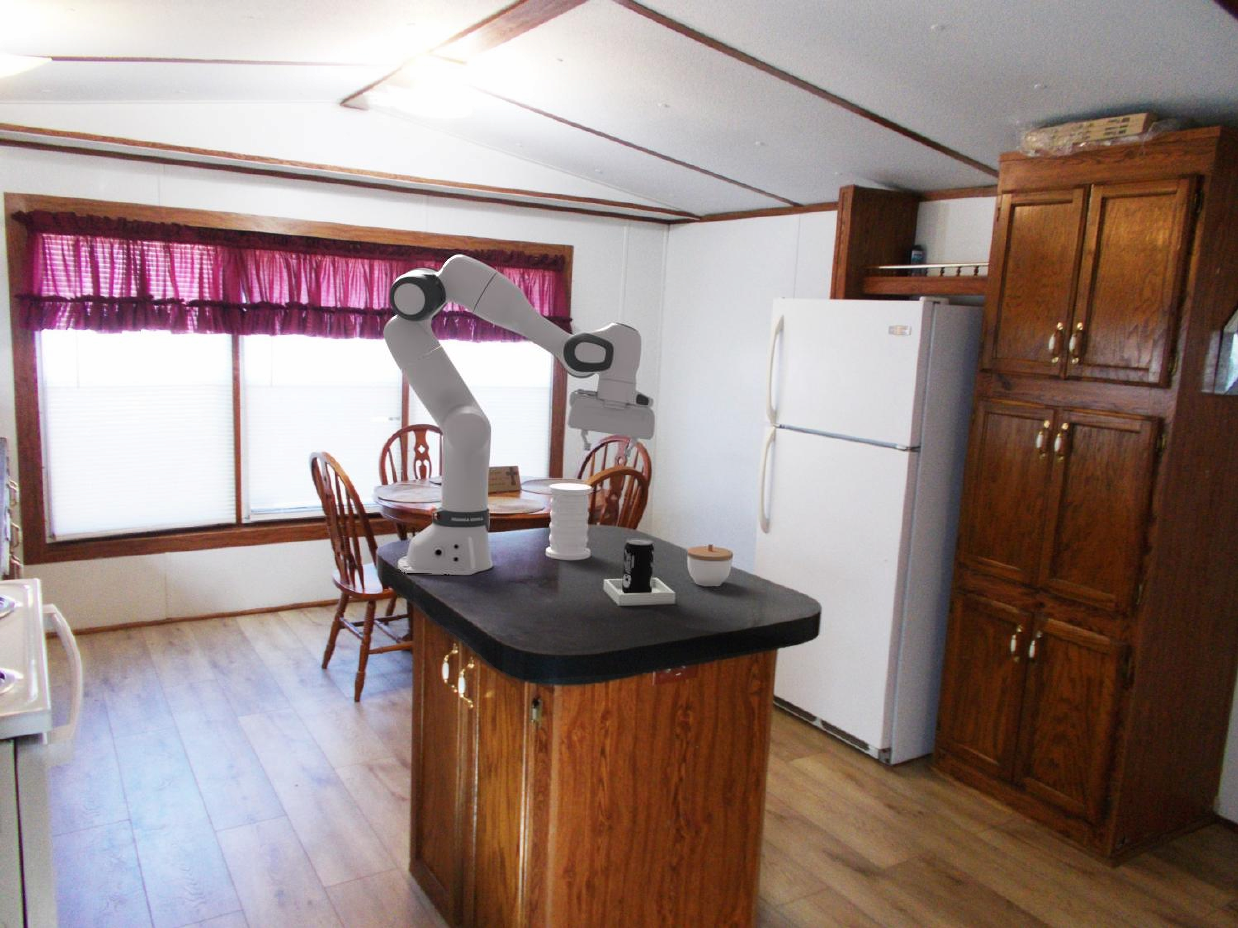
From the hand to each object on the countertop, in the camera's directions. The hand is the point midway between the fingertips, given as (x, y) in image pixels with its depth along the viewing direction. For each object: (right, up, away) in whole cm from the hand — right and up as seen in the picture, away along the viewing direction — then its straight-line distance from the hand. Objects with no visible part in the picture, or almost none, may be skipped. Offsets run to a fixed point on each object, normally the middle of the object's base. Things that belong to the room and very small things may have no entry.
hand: (606, 453), depth 212 cm
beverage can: (+7, -31, -11) cm, 34 cm away
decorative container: (-10, -26, +26) cm, 38 cm away
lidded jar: (+24, -31, +3) cm, 39 cm away
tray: (+7, -32, -11) cm, 34 cm away
